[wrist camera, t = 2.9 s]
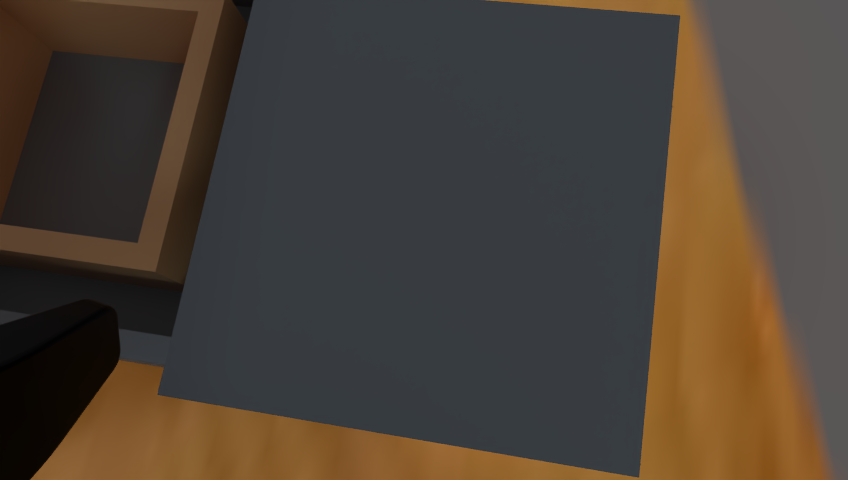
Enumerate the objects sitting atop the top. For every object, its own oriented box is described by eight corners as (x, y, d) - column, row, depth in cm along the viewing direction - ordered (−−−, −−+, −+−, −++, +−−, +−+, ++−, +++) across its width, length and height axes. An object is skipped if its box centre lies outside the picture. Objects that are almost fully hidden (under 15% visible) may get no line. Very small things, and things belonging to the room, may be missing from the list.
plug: (552, 448, 18) (638, 476, 6) (394, 421, 19) (157, 393, 6) (571, 290, 19) (679, 15, 7) (419, 269, 20) (258, -18, 7)
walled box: (271, 384, 19) (210, 372, 15) (-101, 323, 21) (-238, 298, 17) (349, 7, 22) (314, -83, 18) (13, -20, 24) (-84, -108, 20)
